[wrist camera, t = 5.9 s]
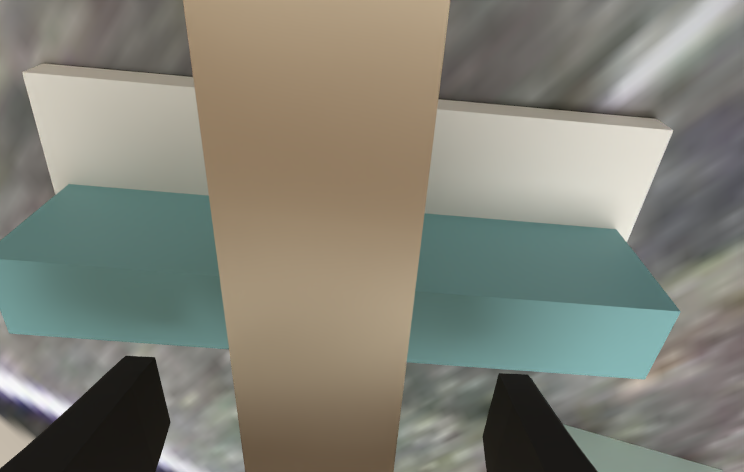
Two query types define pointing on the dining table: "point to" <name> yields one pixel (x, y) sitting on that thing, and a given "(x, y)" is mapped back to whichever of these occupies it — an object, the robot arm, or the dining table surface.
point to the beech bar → (317, 213)
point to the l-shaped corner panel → (629, 455)
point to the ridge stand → (438, 243)
